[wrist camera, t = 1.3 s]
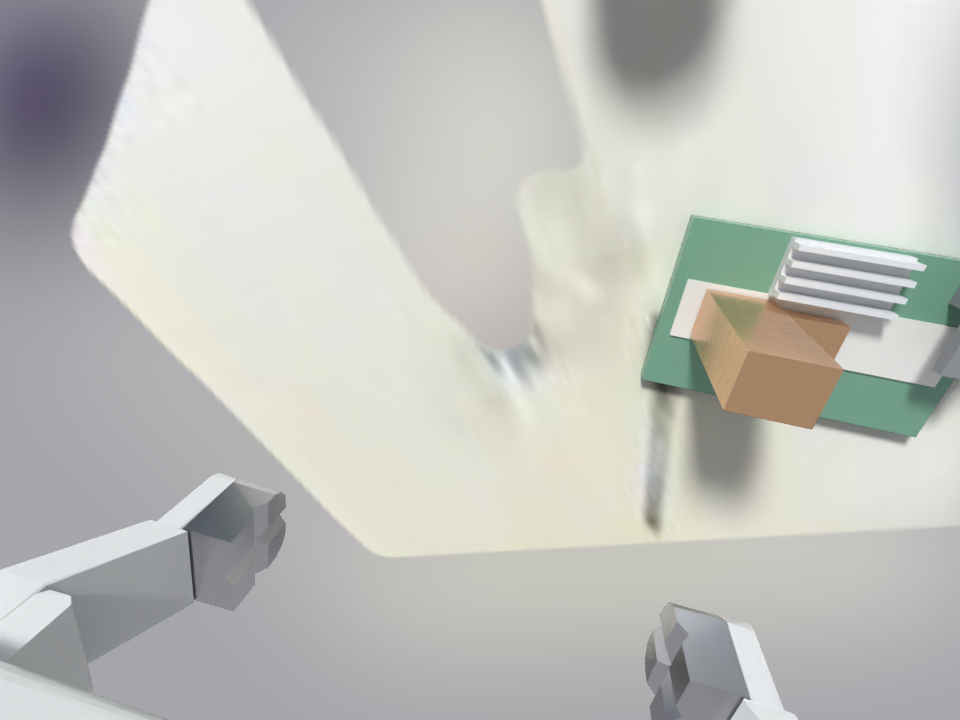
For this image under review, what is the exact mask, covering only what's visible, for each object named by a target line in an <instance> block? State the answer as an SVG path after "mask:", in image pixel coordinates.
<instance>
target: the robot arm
mask: <svg viewBox="0 0 960 720" xmlns="http://www.w3.org/2000/svg"><path fill="white" fill-rule="evenodd" d="M285 507H286V502H285V494H283V493H282V492H279V491H276V490H273V489H270V488H266V487H263V486H260V485H257V484H254V483H250V482H247V481H244V480H241V479H240V480H239V479H236V478H233V477H230V476H227V475H223V474H220V473H219V474H216V475H213V476H211V477H210V478H208V479H207V480H206V481H205V482H204V483H202V484H201V485H200V486H199V487H198V488H197V489H195V490H194V491H193V492H192V493H190V494H189V495H188V496H187V497H186V498H185V499H183V500H182V501H181V502H180V503H179V504H177V505H176V506H175V507H174V508H172V509H171V510H170V511H169V512H168V513H167V514H165V515H164V516H163V517H162V518H161V519H159V520H158V521H157V522H155V521H152V520H149V521H145V522H142V523H139V524H136V525H134V526H130V527H127V528H125V529H121V530H118V531H115V532H112V533H109V534H106V535H103V536H101V537H98V538H94V539H92V540H89V541H85V542H82V543H80V544H77V545H74V546H71V547H68V548H65V549H62V550H59V551H56V552H53V553H50V554H47V555H44V556H41V557H38V558H35V559H32V560H29V561H26V562H23V563H20V564H17V565H14V566H11V567H8V568H5V569H2V570H0V720H170V719H167V718H164V717H161V716H158V715H155V714H152V713H149V712H147V711H144V710H141V709H138V708H135V707H132V706H129V705H126V704H124V703H121V702H118V701H115V700H112V699H109V698H106V697H104V696H100V695H98V694H95V693H93V684H92V680H91V676H90V672H89V668H88V663H90V662H92V661H93V660H95V659H97V658H99V657H100V656H102V655H104V654H106V653H107V652H109V651H111V650H112V649H114V648H116V647H118V646H119V645H121V644H123V643H125V642H126V641H128V640H130V639H132V638H133V637H135V636H137V635H138V634H140V633H142V632H144V631H145V630H147V629H149V628H151V627H152V626H154V625H156V624H158V623H159V622H161V621H163V620H165V619H166V618H168V617H170V616H171V615H173V614H175V613H177V612H179V611H180V610H182V609H184V608H185V607H187V606H189V605H191V604H192V603H194V600H196V601H200V602H204V603H207V604H210V605H214V606H217V607H221V608H224V609H228V610H232V611H234V610H235V609H236V608H237V607H238V605H239V604H240V603H241V602H242V600H243V599H244V597H245V596H246V595H247V594H248V593H249V591H250V590H251V589H252V587H253V586H254V585H255V573H257V572H259V571H261V570H264V569H266V568H268V567H269V566H270V564H271V563H272V561H273V560H274V559H275V558H276V556H277V554H278V552H279V550H280V548H281V545H282V543H283V539H284V535H285V522H284V520H283V519H282V517H281V516H280V513H281V512H282V511H283V510H284V509H285ZM660 618H661V623H662V626H661V627H659V628H657V629H655V630H653V631H652V633H651V636H650V639H649V641H648V644H647V650H646V656H645V672H646V680H647V683H648V685H649V686H650V688H651V689H652V691H653V692H654V694H655V697H654V699H653V701H652V703H651V705H650V711H651V719H652V720H798V718H797V717H796V716H795V715H794V714H793V713H790V712H787V711H784V708H783V706H782V703H781V700H780V698H779V695H778V693H777V690H776V687H775V685H774V682H773V680H772V677H771V674H770V672H769V669H768V667H767V664H766V661H765V658H764V656H763V654H762V651H761V648H760V645H759V643H758V640H757V638H756V635H755V632H754V630H753V628H752V627H751V626H750V625H749V624H747V623H743V622H740V621H736V620H733V619H728V618H725V617H719V616H718V615H714V614H711V613H707V612H703V611H699V610H696V609H692V608H689V607H685V606H681V605H677V604H674V603H670V602H669V603H667V604H666V605H665V606H664V608H663V610H662V612H661V614H660Z"/></svg>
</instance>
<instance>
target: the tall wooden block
mask: <svg viewBox="0 0 960 720" xmlns="http://www.w3.org/2000/svg"><path fill="white" fill-rule="evenodd" d="M850 329H851V327H849V326H848V325H847V324H846V323H844V322H843V321H842V320H838V319H833V318H828V317H822V316H817V315H811V314H806V313H801V312H795V311H790V310H784V309H782V308H781V307H780V306H779V305H778V304H777V303H776V302H775V301H771V300H766V299H760V298H755V297H749V296H744V295H738V294H733V293H727V292H722V291H717V290H711V289H706V292H705V295H704V298H703V301H702V303H701V306H700V309H699V312H698V315H697V317H696V320H695V323H694V326H693V329H692V331H691V334H690V336H691V338H692V340H693V343H694V345H695V347H696V349H697V352H698V354H699V356H700V359H701V361H702V363H703V365H704V368H705V370H706V372H707V374H708V377H709V379H710V381H711V384H712V386H713V388H714V390H715V393H716V395H717V397H718V399H719V402H720V404H721V406H722V409H723V410H724V411H729V412H734V413H738V414H743V415H747V416H752V417H757V418H761V419H766V420H770V421H775V422H780V423H784V424H789V425H794V426H798V427H803V428H807V429H813V427H814V425H815V423H816V421H817V420H818V418H819V416H820V414H821V412H822V410H823V408H824V406H825V405H826V403H827V401H828V399H829V397H830V395H831V393H832V392H833V390H834V388H835V386H836V384H837V382H838V380H839V378H840V377H841V375H842V373H843V371H844V369H843V368H842V367H841V366H840V365H839V364H838V363H837V362H836V361H835V360H834V359H835V357H836V355H837V354H838V352H839V350H840V348H841V346H842V344H843V342H844V340H845V338H846V336H847V334H848V332H849V330H850Z"/></svg>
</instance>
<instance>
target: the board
mask: <svg viewBox="0 0 960 720" xmlns="http://www.w3.org/2000/svg"><path fill="white" fill-rule="evenodd" d="M706 289H711V290H717V291H722V292H727V293H733V294H738V295H744V296H749V297H755V298H760V299H766V300H771V301H775V302H776V303H777V304H778V305H779V306H780V307H781V308H782V309H784V310H790V311H795V312H801V313H806V314H811V315H817V316H822V317H828V318H833V319H838V320H842V321H843V322H844V323H846V324H847V325H848V326H849V327H851V329H850V330H849V332H848V334H847V336H846V338H845V340H844V342H843V344H842V346H841V348H840V350H839V352H838V354H837V355H836V357H835V359H834V360H835V361H836V362H837V363H838V364H839V365H840V366H841V367H842V368H843V369H844V371H843V373H842V375H841V377H840V378H839V380H838V382H837V384H836V386H835V388H834V390H833V392H832V393H831V395H830V397H829V399H828V401H827V403H826V405H825V406H824V408H823V410H822V412H821V414H820V416H819V417H822V418H827V419H832V420H836V421H841V422H846V423H851V424H855V425H860V426H865V427H869V428H874V429H879V430H883V431H888V432H893V433H898V434H902V435H907V436H912V437H916V436H917V434H918V433H919V431H920V430H921V428H922V427H923V425H924V424H925V422H926V421H927V419H928V418H929V416H930V415H931V413H932V412H933V410H934V409H935V407H936V406H937V404H938V403H939V401H940V400H941V398H942V397H943V395H944V394H945V392H946V391H947V389H948V388H949V386H950V384H951V383H952V381H953V380H954V378H955V379H960V259H959V258H953V257H947V256H941V255H934V254H928V253H922V252H916V251H910V250H904V249H898V248H891V247H885V246H879V245H873V244H867V243H861V242H855V241H848V240H842V239H836V238H830V237H824V236H818V235H812V234H805V233H799V232H793V231H787V230H781V229H775V228H769V227H762V226H756V225H750V224H744V223H738V222H732V221H726V220H719V219H713V218H707V217H701V216H695V215H691V217H690V220H689V223H688V226H687V229H686V233H685V236H684V239H683V242H682V245H681V248H680V252H679V255H678V258H677V261H676V264H675V267H674V270H673V274H672V277H671V280H670V283H669V286H668V289H667V292H666V296H665V299H664V302H663V305H662V308H661V311H660V314H659V318H658V321H657V324H656V327H655V330H654V333H653V336H652V340H651V343H650V346H649V349H648V352H647V355H646V358H645V362H644V365H643V368H642V371H641V377H642V379H643V380H648V381H653V382H657V383H662V384H667V385H672V386H676V387H681V388H686V389H690V390H695V391H700V392H705V393H709V394H714V395H716V393H715V390H714V388H713V386H712V384H711V381H710V379H709V377H708V374H707V372H706V370H705V368H704V365H703V363H702V361H701V359H700V356H699V354H698V352H697V349H696V347H695V345H694V343H693V340H692V338H691V336H690V334H691V331H692V329H693V326H694V323H695V320H696V317H697V315H698V312H699V309H700V306H701V303H702V301H703V298H704V295H705V292H706Z"/></svg>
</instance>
